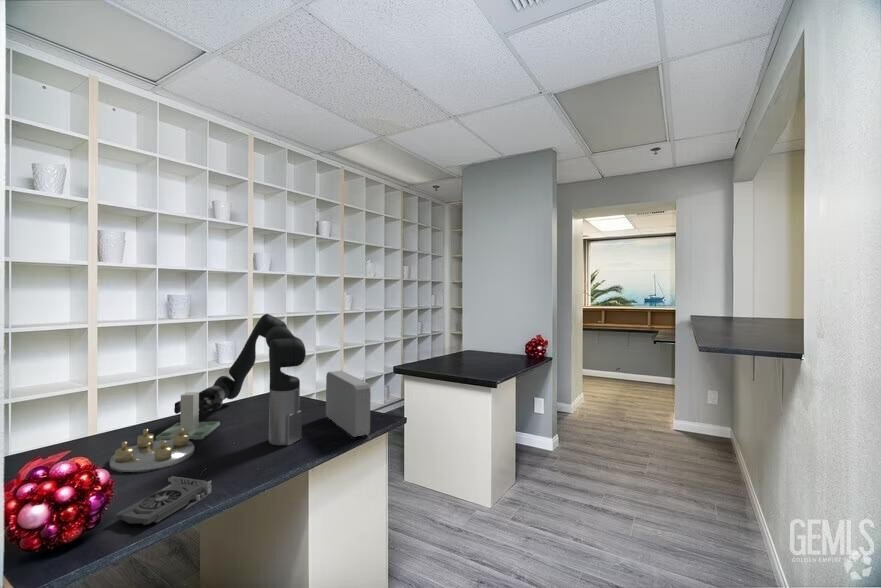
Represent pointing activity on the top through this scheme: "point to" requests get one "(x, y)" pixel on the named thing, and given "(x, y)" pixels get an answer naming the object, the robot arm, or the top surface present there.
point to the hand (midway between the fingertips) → (189, 410)
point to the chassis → (152, 453)
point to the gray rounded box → (348, 402)
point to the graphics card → (165, 501)
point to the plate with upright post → (189, 420)
